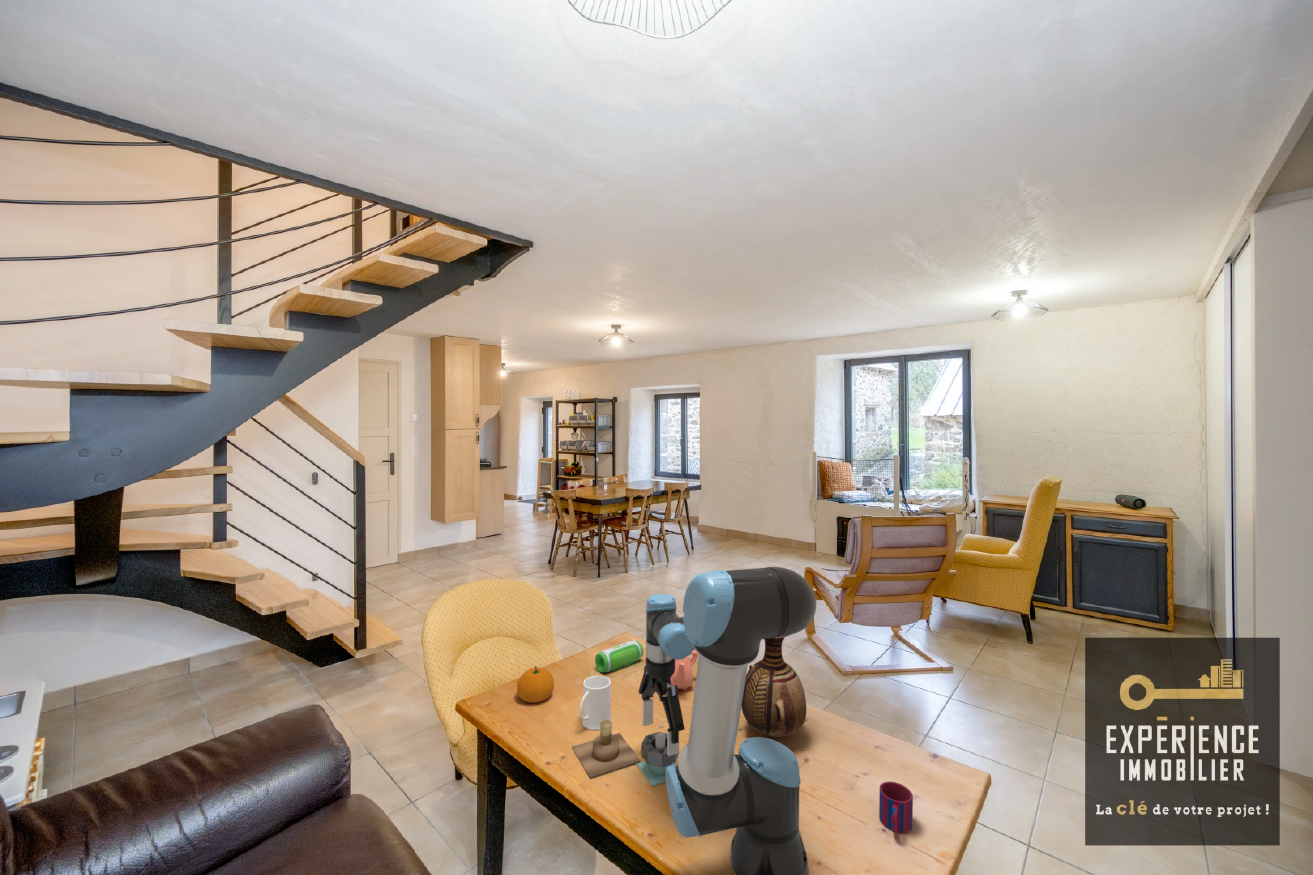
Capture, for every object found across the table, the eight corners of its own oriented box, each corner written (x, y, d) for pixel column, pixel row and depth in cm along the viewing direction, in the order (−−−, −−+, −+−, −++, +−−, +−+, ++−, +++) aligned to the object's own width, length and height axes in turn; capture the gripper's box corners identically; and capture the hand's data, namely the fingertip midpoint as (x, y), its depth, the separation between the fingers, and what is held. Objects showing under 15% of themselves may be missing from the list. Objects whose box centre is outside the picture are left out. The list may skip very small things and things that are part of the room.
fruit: (510, 696, 168) (510, 665, 168) (542, 684, 176) (542, 655, 176) (528, 711, 159) (528, 678, 159) (561, 697, 167) (561, 667, 167)
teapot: (660, 670, 186) (661, 634, 186) (702, 679, 180) (702, 642, 179) (639, 692, 171) (639, 652, 171) (684, 702, 164) (684, 661, 164)
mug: (588, 739, 145) (588, 696, 145) (568, 728, 150) (568, 687, 150) (617, 720, 154) (617, 680, 154) (597, 710, 160) (597, 672, 159)
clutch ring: (684, 759, 130) (684, 747, 130) (652, 770, 126) (652, 758, 126) (667, 740, 138) (667, 729, 138) (636, 749, 134) (636, 738, 134)
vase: (804, 763, 135) (805, 649, 134) (734, 749, 141) (735, 639, 140) (807, 719, 155) (808, 620, 154) (747, 709, 161) (747, 613, 160)
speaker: (632, 655, 198) (632, 636, 198) (644, 662, 193) (644, 642, 193) (594, 669, 187) (594, 649, 187) (605, 677, 181) (605, 656, 181)
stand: (684, 775, 130) (684, 739, 130) (652, 786, 126) (652, 749, 126) (667, 755, 138) (667, 721, 138) (636, 765, 134) (636, 730, 134)
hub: (641, 762, 135) (641, 730, 135) (590, 778, 129) (590, 745, 128) (619, 733, 147) (619, 704, 147) (572, 747, 141) (572, 717, 141)
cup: (914, 818, 116) (914, 788, 116) (907, 848, 108) (908, 816, 108) (882, 806, 120) (882, 777, 120) (873, 834, 111) (873, 803, 111)
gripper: (699, 675, 122) (698, 762, 123) (651, 635, 144) (650, 709, 145) (671, 682, 119) (670, 772, 120) (626, 640, 141) (626, 716, 142)
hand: (659, 738), depth 132 cm, fingers open, 13 cm apart
